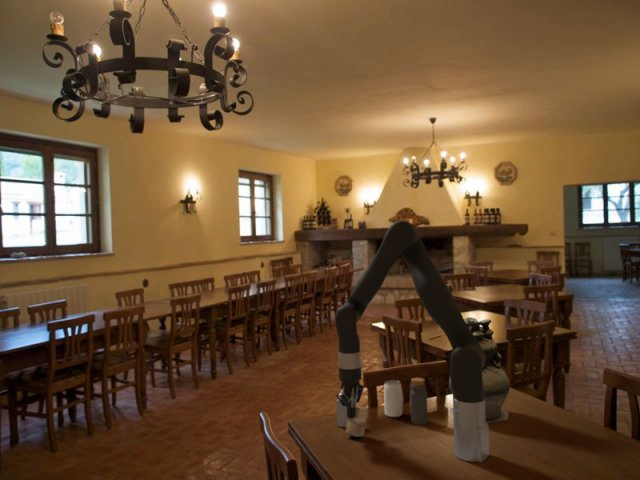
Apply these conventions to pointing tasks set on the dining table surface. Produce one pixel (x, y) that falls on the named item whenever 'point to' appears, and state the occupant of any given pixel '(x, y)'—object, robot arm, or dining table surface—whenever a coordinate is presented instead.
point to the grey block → (341, 414)
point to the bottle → (418, 402)
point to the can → (393, 398)
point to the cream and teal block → (357, 422)
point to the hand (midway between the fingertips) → (351, 417)
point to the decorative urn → (490, 371)
